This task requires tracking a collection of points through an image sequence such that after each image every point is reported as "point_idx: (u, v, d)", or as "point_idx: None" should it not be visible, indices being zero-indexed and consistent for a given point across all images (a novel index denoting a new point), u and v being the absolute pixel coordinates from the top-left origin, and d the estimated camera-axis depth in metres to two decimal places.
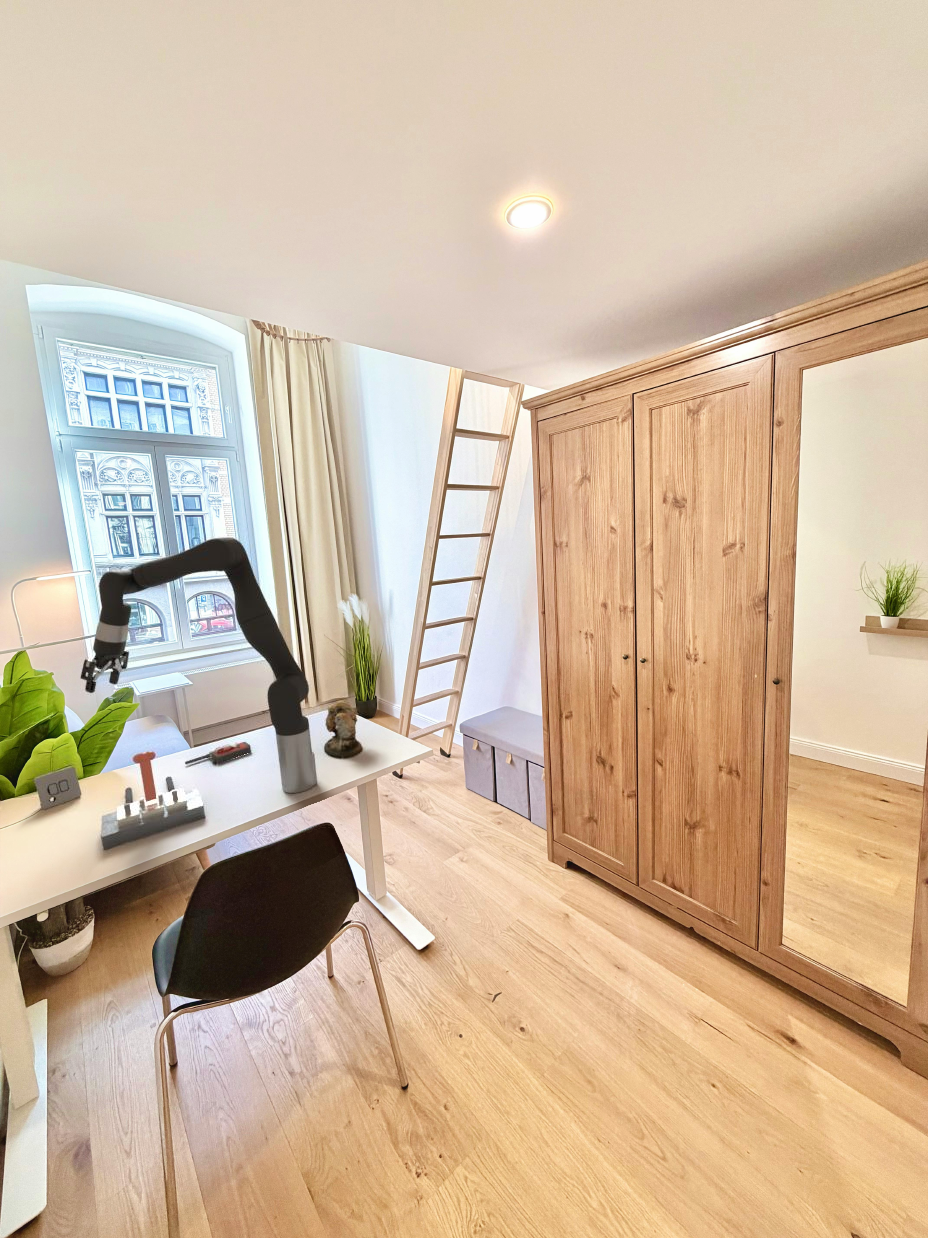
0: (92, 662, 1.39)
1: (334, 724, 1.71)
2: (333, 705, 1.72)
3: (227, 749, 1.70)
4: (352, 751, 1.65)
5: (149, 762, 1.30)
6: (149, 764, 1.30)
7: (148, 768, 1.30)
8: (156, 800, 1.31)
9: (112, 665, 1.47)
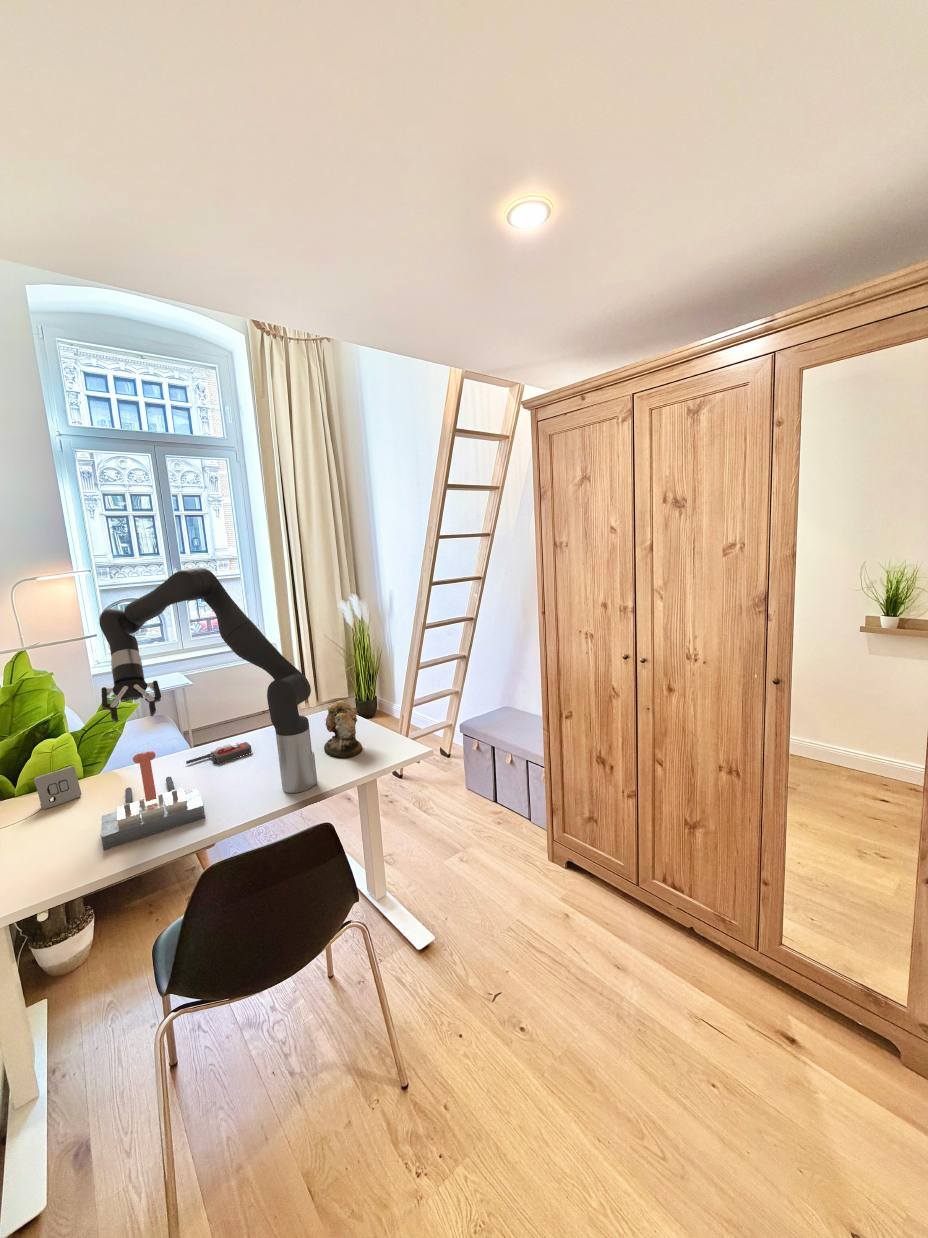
0: None
1: (334, 724, 1.71)
2: (333, 705, 1.72)
3: (228, 749, 1.70)
4: (352, 751, 1.65)
5: (149, 762, 1.30)
6: (149, 764, 1.30)
7: (148, 768, 1.30)
8: (156, 800, 1.31)
9: (136, 693, 1.45)
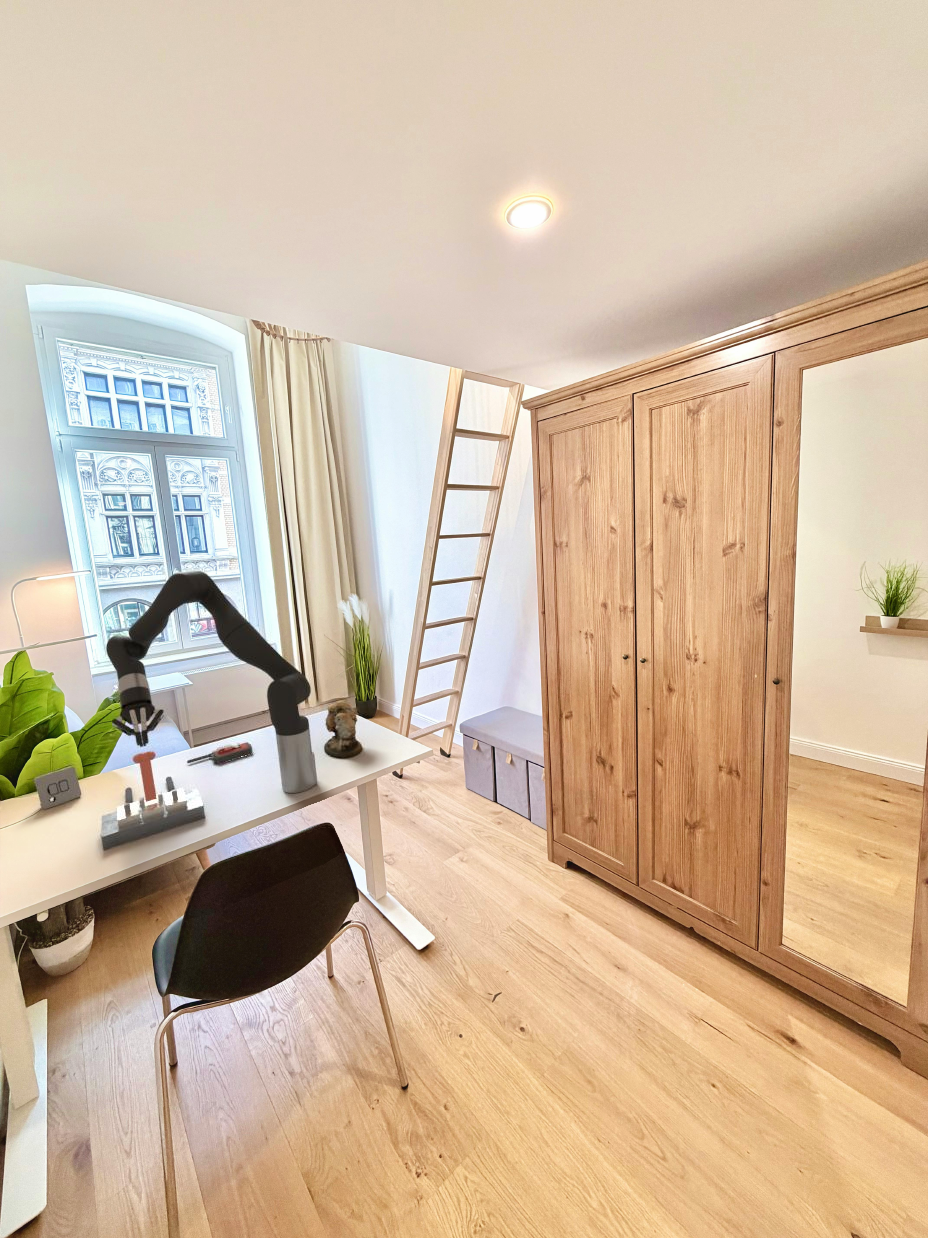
0: None
1: (334, 724, 1.71)
2: (333, 705, 1.72)
3: (228, 749, 1.69)
4: (352, 751, 1.65)
5: (149, 762, 1.30)
6: (149, 764, 1.30)
7: (148, 768, 1.30)
8: (156, 800, 1.31)
9: (138, 715, 1.41)
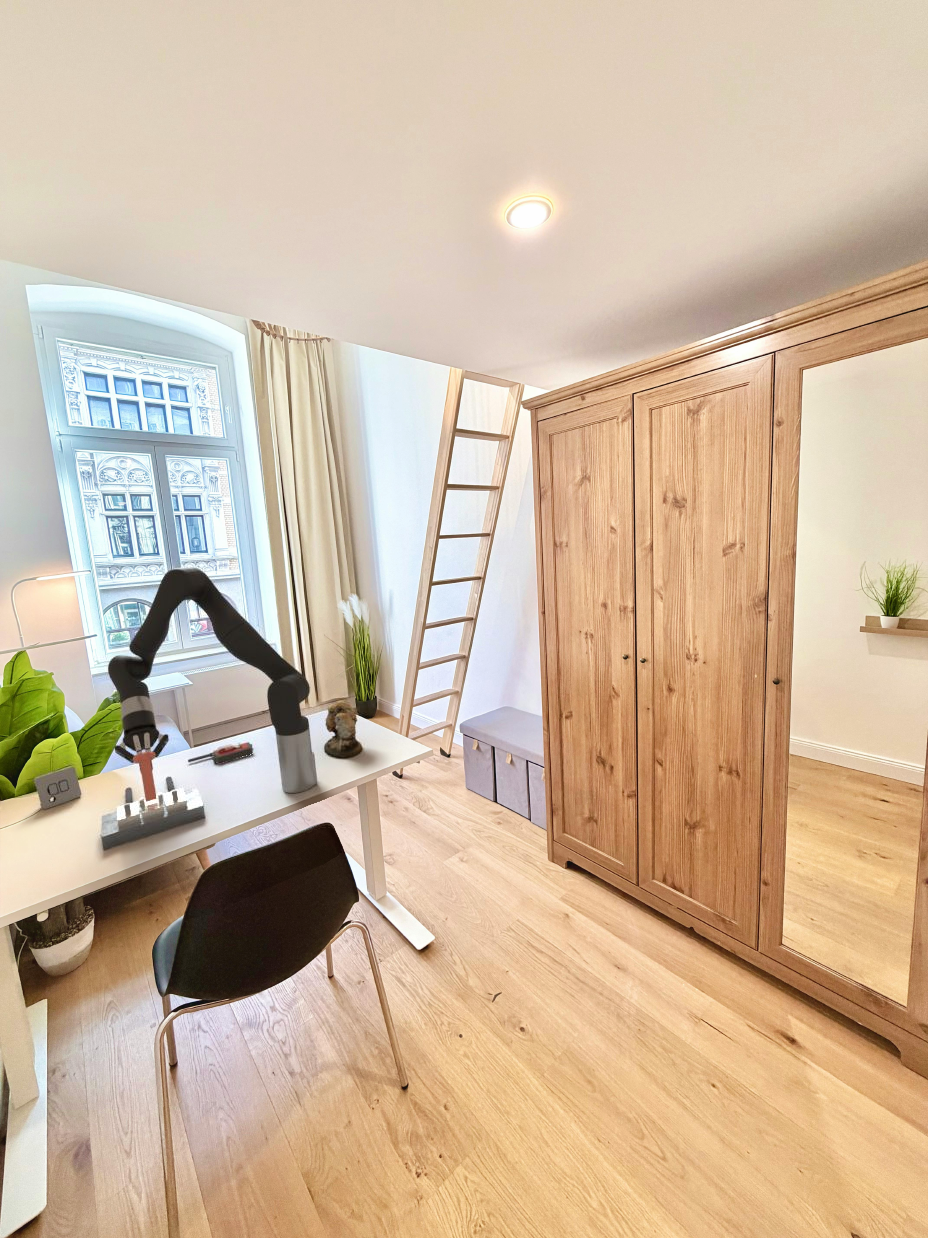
0: (115, 748, 1.31)
1: (334, 724, 1.71)
2: (333, 705, 1.72)
3: (229, 749, 1.69)
4: (352, 751, 1.65)
5: (149, 762, 1.30)
6: (149, 764, 1.30)
7: (148, 768, 1.30)
8: (156, 800, 1.31)
9: (141, 741, 1.34)
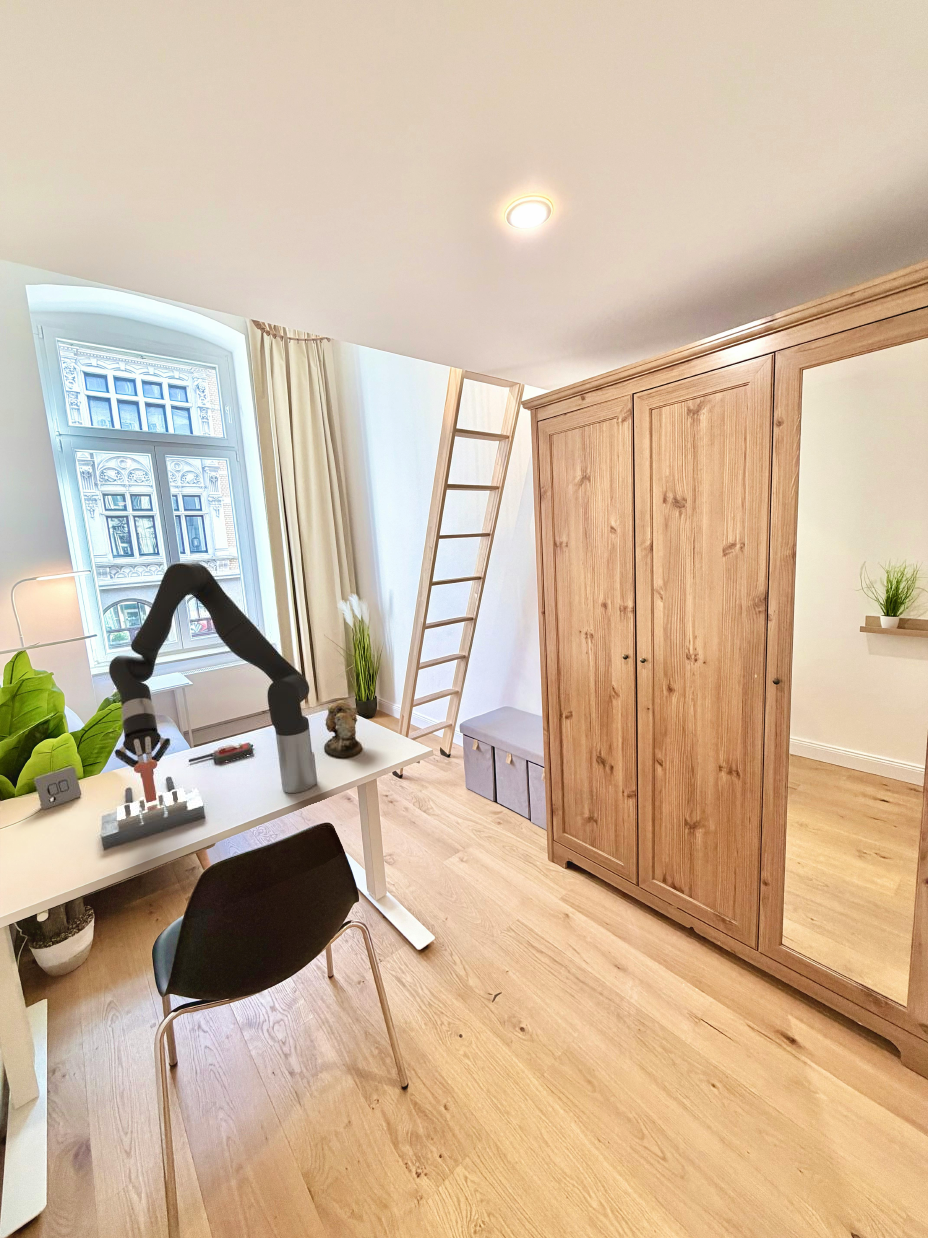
0: (115, 752, 1.28)
1: (334, 724, 1.71)
2: (333, 705, 1.72)
3: (229, 749, 1.69)
4: (352, 751, 1.65)
5: (151, 772, 1.26)
6: (151, 773, 1.26)
7: (150, 777, 1.26)
8: None
9: (142, 745, 1.31)
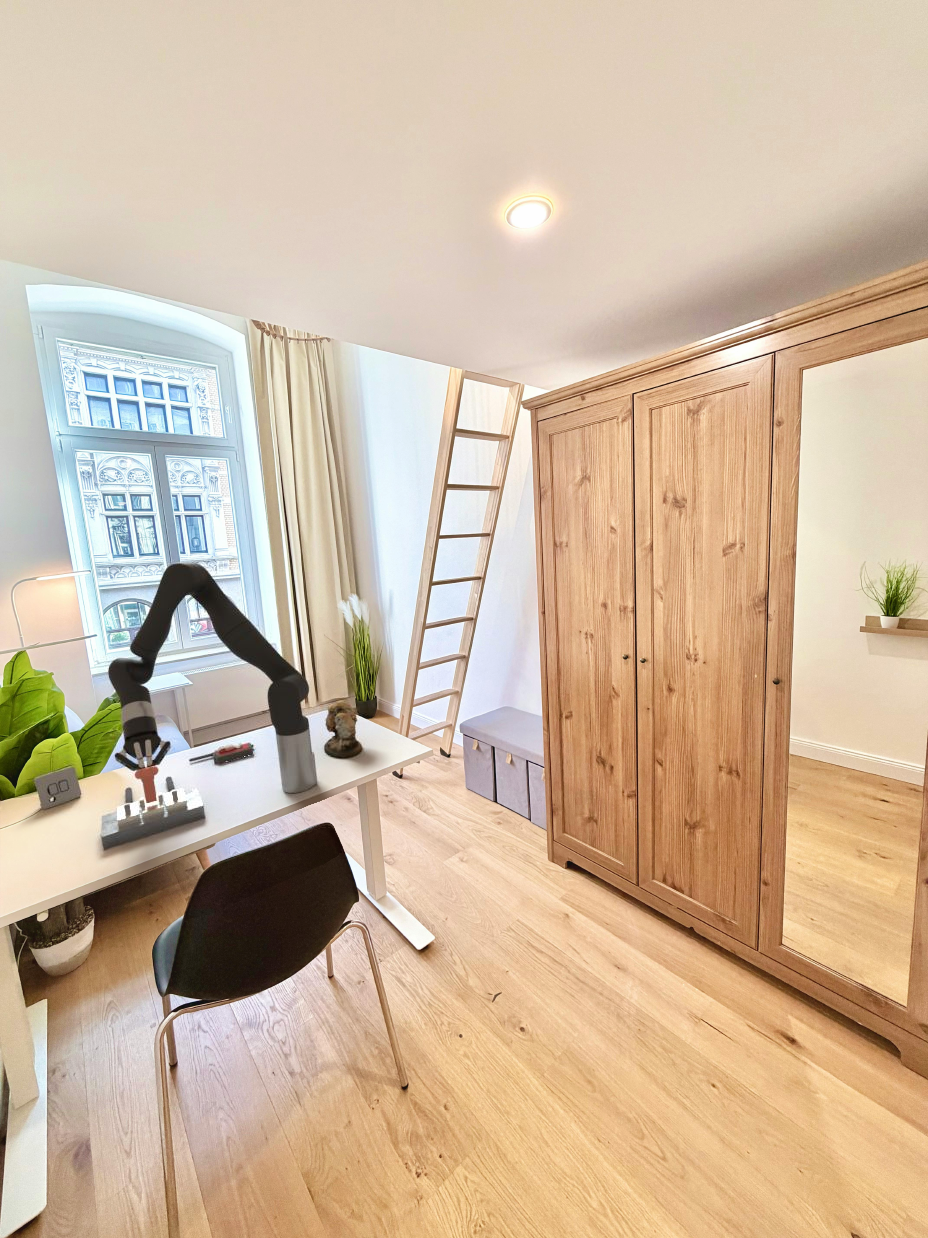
0: (115, 755, 1.27)
1: (334, 724, 1.71)
2: (333, 705, 1.72)
3: (230, 749, 1.69)
4: (352, 751, 1.65)
5: (152, 777, 1.25)
6: (152, 779, 1.25)
7: (151, 782, 1.25)
8: None
9: (143, 748, 1.30)
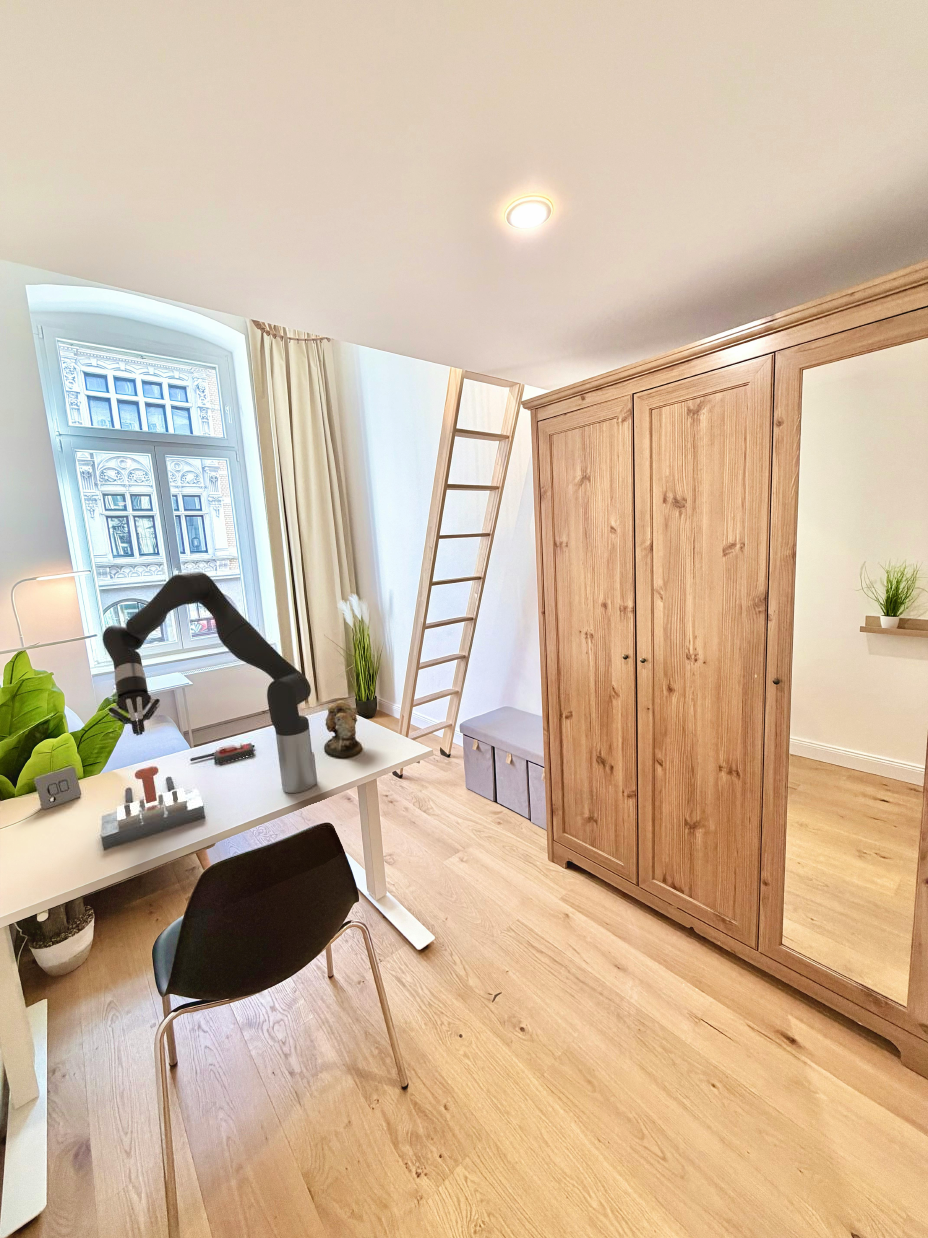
0: (109, 710, 1.40)
1: (334, 724, 1.71)
2: (333, 705, 1.72)
3: (230, 749, 1.69)
4: (352, 751, 1.65)
5: (152, 777, 1.25)
6: (152, 779, 1.25)
7: (151, 782, 1.25)
8: None
9: (134, 704, 1.43)
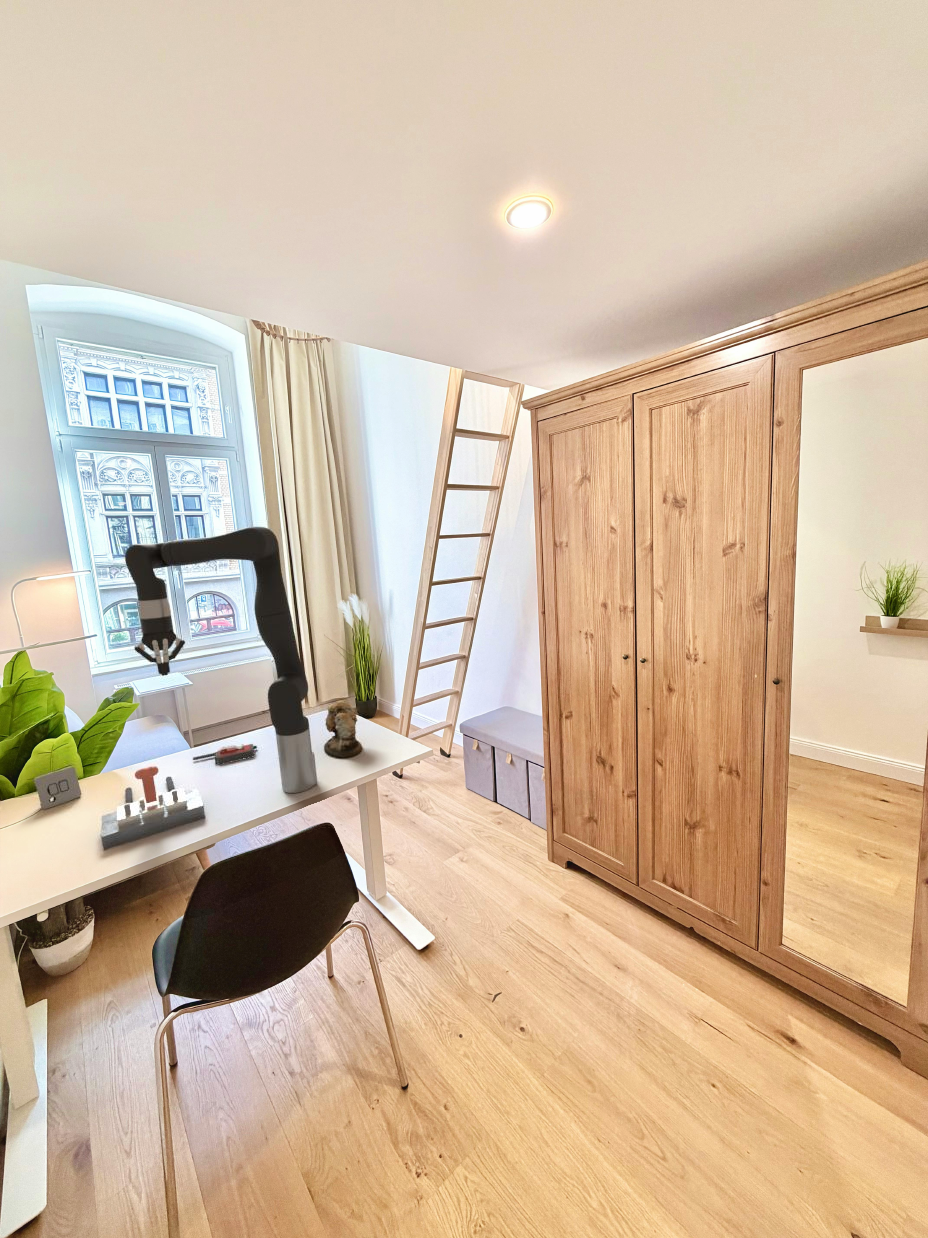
0: (135, 648, 1.38)
1: (334, 724, 1.71)
2: (333, 705, 1.72)
3: (231, 750, 1.69)
4: (352, 751, 1.65)
5: (152, 777, 1.25)
6: (152, 779, 1.25)
7: (151, 782, 1.25)
8: None
9: (160, 645, 1.41)
